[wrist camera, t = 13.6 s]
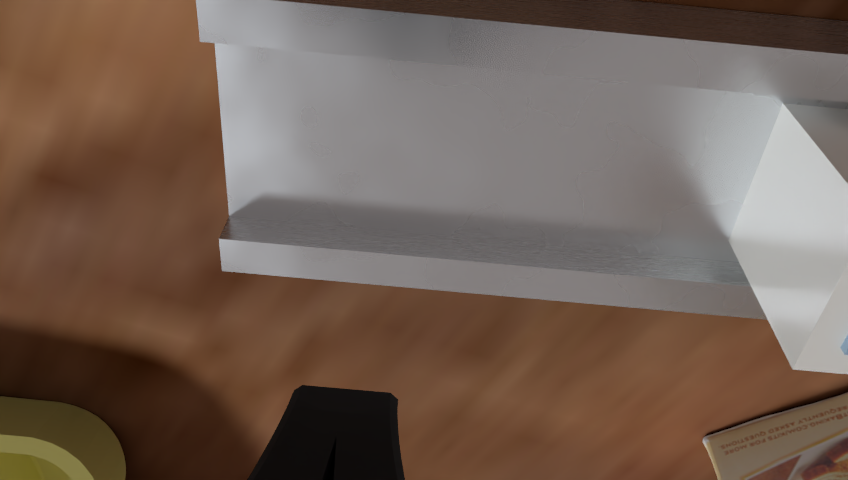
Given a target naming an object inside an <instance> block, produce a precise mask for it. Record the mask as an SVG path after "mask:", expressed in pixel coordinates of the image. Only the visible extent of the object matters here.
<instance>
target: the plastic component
mask: <svg viewBox="0 0 848 480" xmlns="http://www.w3.org/2000/svg"><path fill="white" fill-rule="evenodd" d="M125 477H126V463H125V457H124V454H123V450H122V447H121V445H120V443H119V440H118V439H117V437H116V436H115V434H114V433H113V431H112V430H111V429H110V428H109V426H108V425H107V424H106V423H105V422H104V421H102V420H101V419H100V418H99V417H98V416H96V415H94V414H92V413H91V412H89V411H87V410H85V409H82V408H79V407H77V406H74V405H70V404H67V403H62V402H54V401H44V400H35V399H25V398H15V397H5V396H0V480H125Z"/></svg>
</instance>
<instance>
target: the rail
mask: <svg viewBox="0 0 848 480" xmlns="http://www.w3.org/2000/svg"><path fill="white" fill-rule="evenodd" d="M196 5H197V15H198V26H199V36H200V42H210V43H215V53H216V65H217V77H218V89H219V101H220V112H221V124H222V136H223V148H224V160H225V172H226V184H227V195H228V207H229V218H228V220H227V222H226V224H225V226H224V229H223V231H222V233H221V235H220V238H219V245H220V255H221V265H222V271H229V272H240V273H251V274H262V275H274V276H285V277H296V278H307V279H319V280H330V281H341V282H352V283H363V284H375V285H386V286H397V287H408V288H419V289H431V290H442V291H453V292H464V293H476V294H487V295H498V296H509V297H520V298H532V299H543V300H554V301H565V302H576V303H588V304H599V305H610V306H621V307H633V308H644V309H655V310H666V311H677V312H689V313H700V314H711V315H722V316H734V317H745V318H756V319H767V317H766V315H765V313H764V311H763V309H762V307H761V305H760V303H759V301H758V299H757V297H756V295H755V293H754V291H753V289H752V287H751V285H750V283H749V281H748V279H747V277H746V275H745V273H744V271H743V269H742V267H741V265H740V263H739V261H738V259H737V257H736V255H735V253H734V251H733V249H732V247H731V245H730V243H729V241H728V240H729V238H730V235H731V233H732V230H733V228H734V225H735V223H736V220H737V218H738V215H739V213H740V210H741V208H742V205H743V203H744V200H745V198H746V195H747V193H748V190H749V187H750V185H751V182H752V180H753V177H754V175H755V172H756V170H757V167H758V165H759V162H760V160H761V157H762V155H763V152H764V150H765V147H766V145H767V142H768V139H769V137H770V134H771V132H772V129H773V127H774V124H775V122H776V119H777V117H778V114H779V112H780V109H781V107H782V104H783V103H786V104H797V105H807V106H818V107H829V108H839V109H848V21H840V20H830V19H819V18H809V17H798V16H788V15H777V14H767V13H757V12H746V11H736V10H725V9H715V8H704V7H694V6H683V5H673V4H662V3H652V2H642V1H631V0H196ZM767 320H768V319H767Z"/></svg>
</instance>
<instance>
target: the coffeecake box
mask: <svg viewBox="0 0 848 480" xmlns="http://www.w3.org/2000/svg"><path fill="white" fill-rule="evenodd" d="M703 444H704V445H705V447H706V449H707V451H708V453H709V456H710V458H711V460H712V463H713V466H714V469H715V472H716V475H717V478H718V480H848V392H847V393H844V394H842V395H839V396H835V397H832V398H828V399H825V400H822V401H818V402H815V403H812V404H808V405H805V406H801V407H797V408H793V409H790V410H787V411H783V412H780V413H776V414H772V415H768V416H765V417H762V418H758V419H755V420H752V421H749V422H746V423H744V424H741V425H738V426H735V427H732V428H729V429H726V430H723V431H720V432H717V433H714V434H711V435H708V436H705V437H704V438H703Z"/></svg>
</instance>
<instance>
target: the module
mask: <svg viewBox="0 0 848 480" xmlns="http://www.w3.org/2000/svg"><path fill="white" fill-rule="evenodd" d="M728 241H729V243H730V245H731V247H732V249H733V251H734V253H735V255H736V257H737V259H738V261H739V263H740V265H741V267H742V269H743V271H744V273H745V275H746V277H747V279H748V281H749V283H750V285H751V287H752V289H753V291H754V293H755V295H756V297H757V299H758V301H759V303H760V305H761V307H762V309H763V311H764V313H765V315H766V317H767V319H768V321H769V323H770V325H771V327H772V329H773V331H774V333H775V335H776V337H777V339H778V341H779V343H780V345H781V347H782V349H783V351H784V353H785V355H786V357H787V359H788V361H789V363H790V365H791V367H792V369H794V370H805V371H816V372H828V373H839V374H848V109H839V108H829V107H818V106H807V105H797V104H786V103H783V104H782V107H781V109H780V112H779V114H778V117H777V119H776V122H775V124H774V127H773V129H772V132H771V134H770V137H769V139H768V142H767V145H766V147H765V150H764V152H763V155H762V157H761V160H760V162H759V165H758V167H757V170H756V172H755V175H754V177H753V180H752V182H751V185H750V187H749V190H748V193H747V195H746V198H745V200H744V203H743V205H742V208H741V210H740V213H739V215H738V218H737V220H736V223H735V225H734V228H733V230H732V233H731V235H730V238H729V240H728Z"/></svg>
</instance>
